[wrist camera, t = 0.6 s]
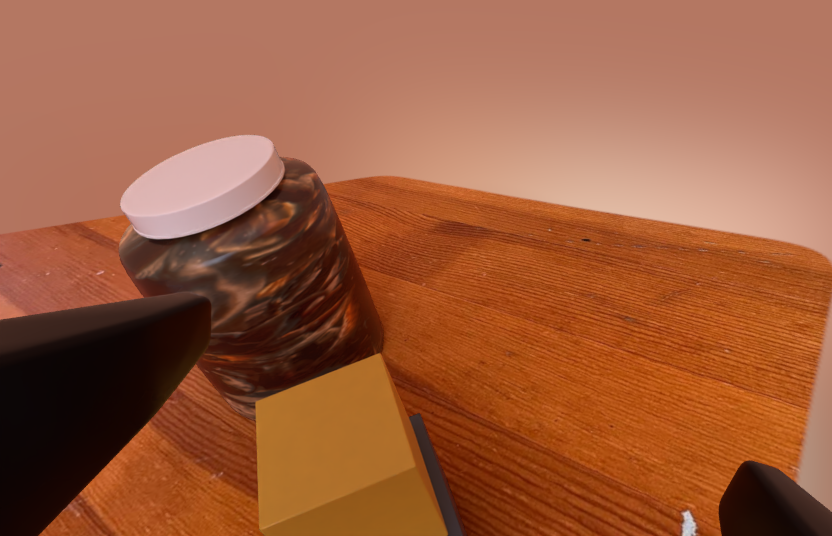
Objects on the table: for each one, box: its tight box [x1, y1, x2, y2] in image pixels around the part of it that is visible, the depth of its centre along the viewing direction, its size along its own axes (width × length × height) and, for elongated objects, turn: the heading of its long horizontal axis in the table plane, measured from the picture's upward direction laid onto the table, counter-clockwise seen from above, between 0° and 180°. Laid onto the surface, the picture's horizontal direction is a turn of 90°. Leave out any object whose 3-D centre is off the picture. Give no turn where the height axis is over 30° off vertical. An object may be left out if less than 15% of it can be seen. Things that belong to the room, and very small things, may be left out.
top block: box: [255, 353, 448, 536], centre depth 19 cm, size 5×5×5 cm
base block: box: [409, 413, 467, 536], centre depth 22 cm, size 6×6×6 cm
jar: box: [119, 135, 383, 421], centre depth 31 cm, size 12×12×15 cm
